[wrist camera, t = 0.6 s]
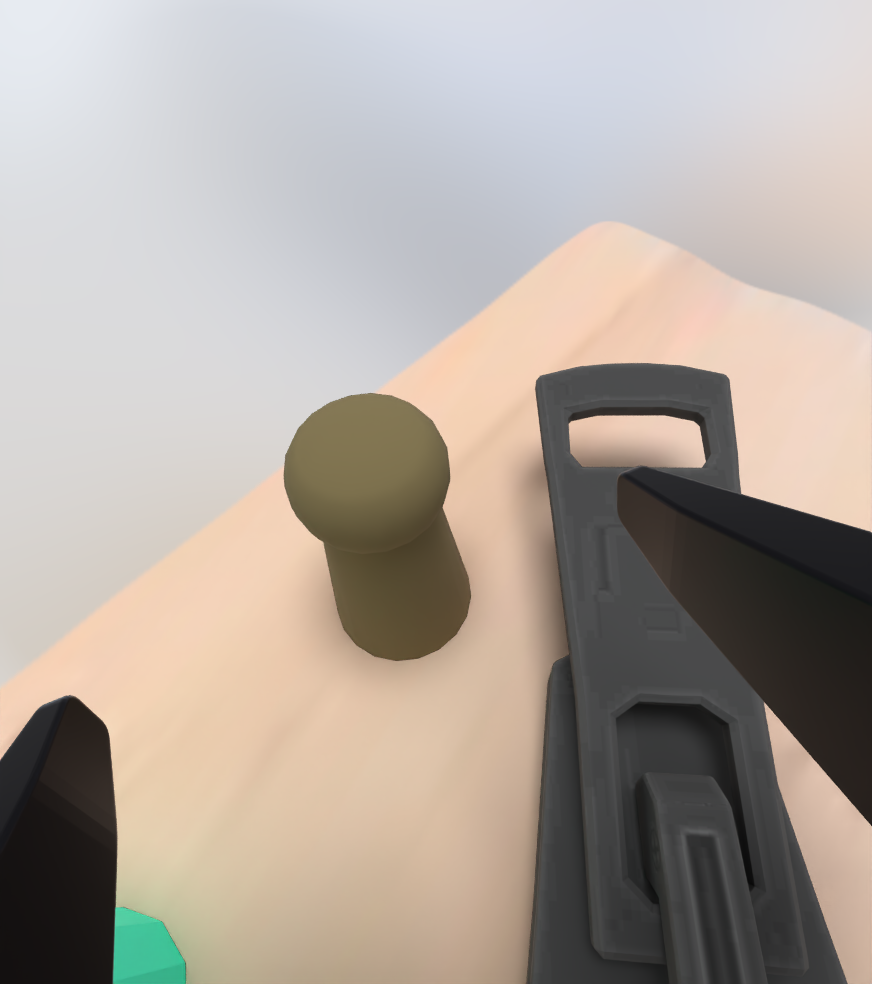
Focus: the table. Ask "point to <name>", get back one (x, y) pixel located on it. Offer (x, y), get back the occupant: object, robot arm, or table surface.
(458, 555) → the cork
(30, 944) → the robot arm
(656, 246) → the table surface
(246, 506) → the table surface
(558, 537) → the zipper pull
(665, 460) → the table surface
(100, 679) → the table surface
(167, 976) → the candle
